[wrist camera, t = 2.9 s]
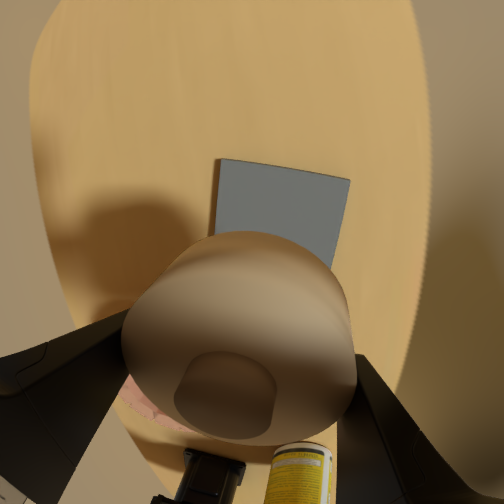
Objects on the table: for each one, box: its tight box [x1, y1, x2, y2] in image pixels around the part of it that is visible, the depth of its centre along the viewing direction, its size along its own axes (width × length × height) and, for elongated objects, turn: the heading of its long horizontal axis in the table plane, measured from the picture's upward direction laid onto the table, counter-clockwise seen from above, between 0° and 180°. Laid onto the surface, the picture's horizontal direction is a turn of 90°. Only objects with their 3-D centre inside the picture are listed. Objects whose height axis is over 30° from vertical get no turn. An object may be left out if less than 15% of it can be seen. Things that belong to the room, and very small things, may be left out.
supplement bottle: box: [264, 443, 332, 504], centre depth 18 cm, size 5×5×10 cm
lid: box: [121, 231, 357, 446], centre depth 8 cm, size 6×6×4 cm
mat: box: [215, 159, 350, 269], centre depth 15 cm, size 9×6×1 cm, turn 173°
